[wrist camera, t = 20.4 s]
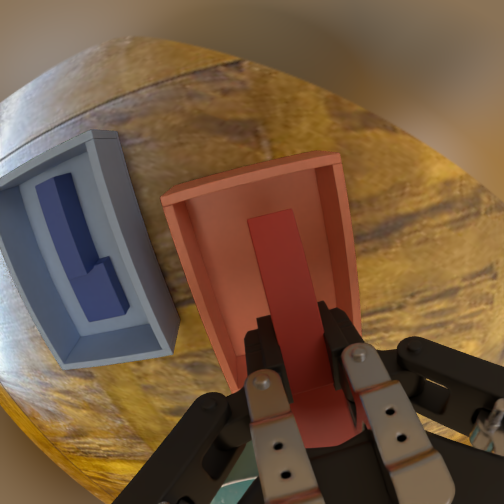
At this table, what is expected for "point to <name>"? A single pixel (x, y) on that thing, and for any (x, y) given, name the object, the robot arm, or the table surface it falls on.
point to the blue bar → (80, 251)
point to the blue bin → (106, 243)
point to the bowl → (238, 478)
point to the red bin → (241, 248)
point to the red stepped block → (299, 330)
